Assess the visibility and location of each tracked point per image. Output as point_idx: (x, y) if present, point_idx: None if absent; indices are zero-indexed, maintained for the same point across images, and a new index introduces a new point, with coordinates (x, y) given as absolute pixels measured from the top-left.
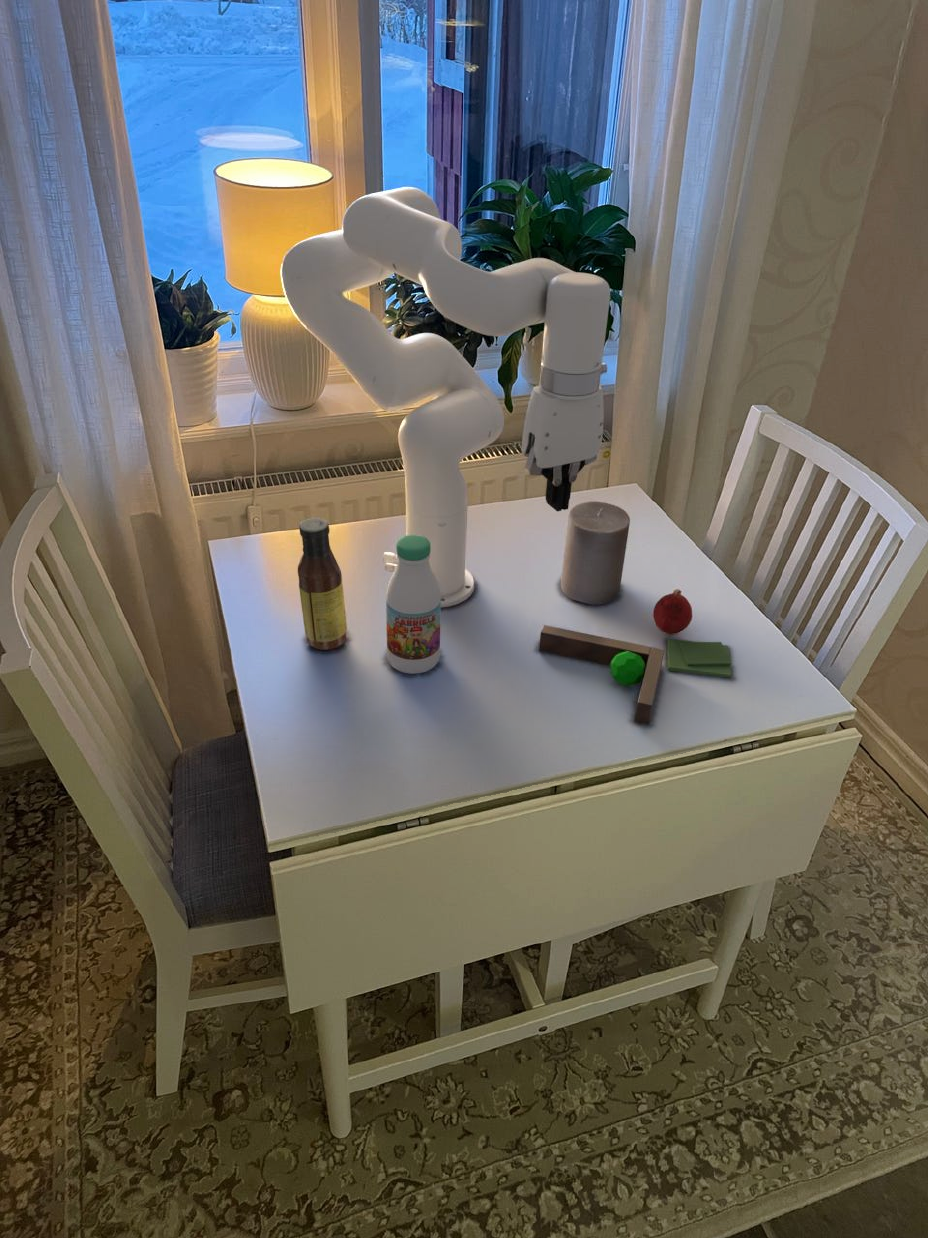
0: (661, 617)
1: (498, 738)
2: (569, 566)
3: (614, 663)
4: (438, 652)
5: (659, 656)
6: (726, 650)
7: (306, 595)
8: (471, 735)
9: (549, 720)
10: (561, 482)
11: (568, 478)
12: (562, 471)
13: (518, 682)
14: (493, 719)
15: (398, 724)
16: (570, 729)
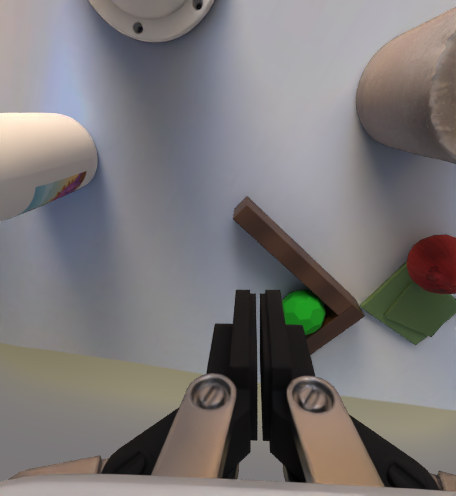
0: (413, 273)
1: (123, 314)
2: (378, 95)
3: (285, 313)
4: (84, 182)
5: (348, 323)
6: (453, 312)
7: None
8: (98, 300)
9: (184, 314)
10: (263, 415)
11: (283, 467)
12: (288, 435)
13: (180, 251)
14: (128, 290)
15: (26, 256)
16: (198, 332)
